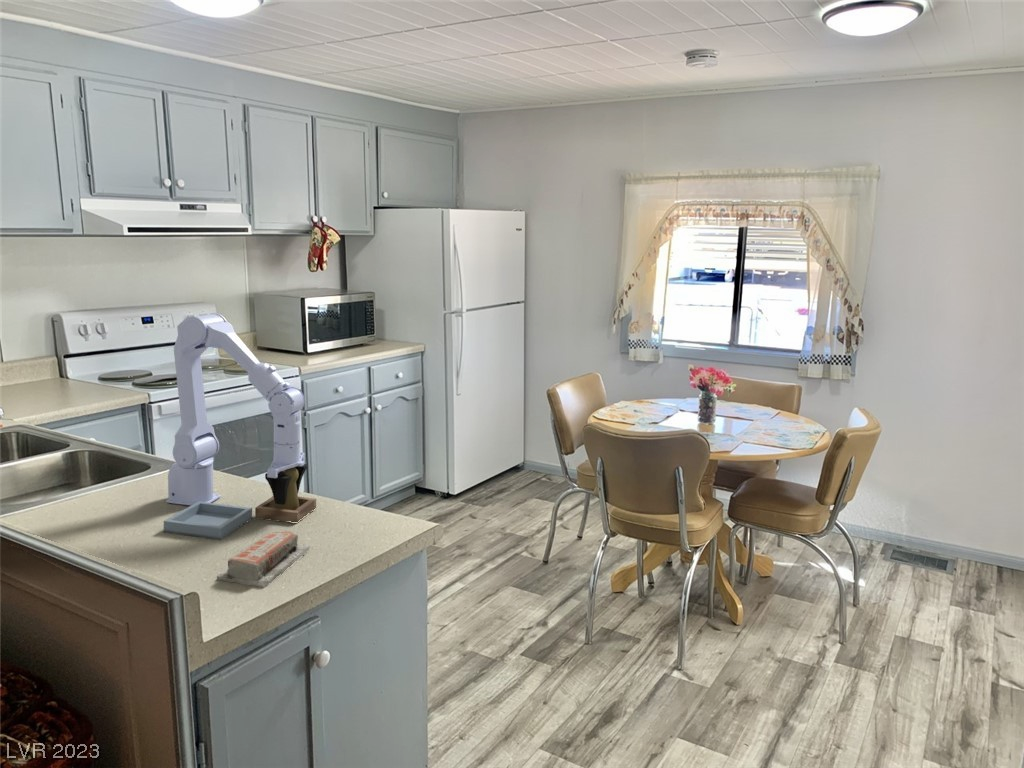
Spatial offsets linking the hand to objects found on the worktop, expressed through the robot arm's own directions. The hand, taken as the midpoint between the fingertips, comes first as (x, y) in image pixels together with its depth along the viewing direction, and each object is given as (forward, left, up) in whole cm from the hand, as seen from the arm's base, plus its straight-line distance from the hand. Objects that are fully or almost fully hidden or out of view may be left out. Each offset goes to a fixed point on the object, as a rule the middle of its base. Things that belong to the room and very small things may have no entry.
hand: (286, 499), depth 180 cm
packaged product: (+9, -27, -4) cm, 28 cm away
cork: (0, 0, -4) cm, 4 cm away
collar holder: (0, 0, -3) cm, 3 cm away
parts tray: (-12, -12, -3) cm, 17 cm away
